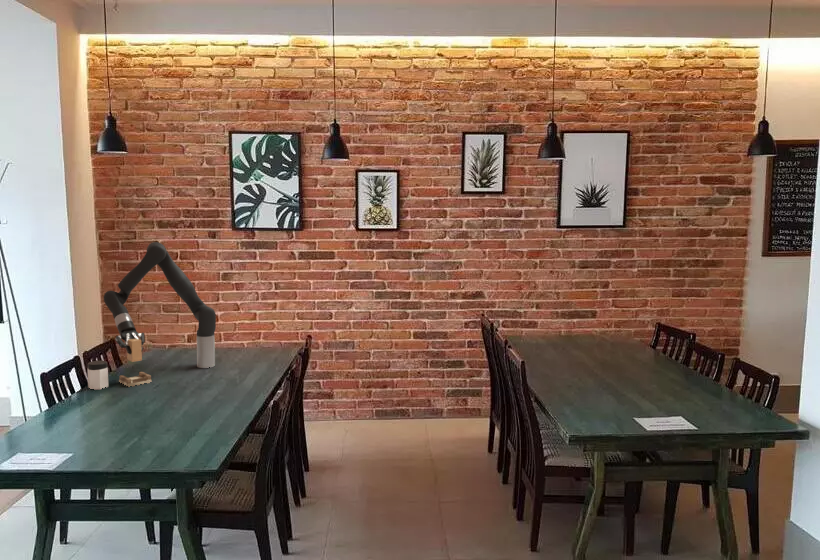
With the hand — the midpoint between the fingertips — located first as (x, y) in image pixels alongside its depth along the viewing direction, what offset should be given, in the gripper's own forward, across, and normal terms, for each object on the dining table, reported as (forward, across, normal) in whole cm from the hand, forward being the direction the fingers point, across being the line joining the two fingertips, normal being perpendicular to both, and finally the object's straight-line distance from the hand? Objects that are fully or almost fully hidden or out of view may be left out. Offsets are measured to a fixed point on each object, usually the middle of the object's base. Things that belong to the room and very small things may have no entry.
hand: (136, 352), depth 283 cm
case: (+2, 0, +4) cm, 5 cm away
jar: (+7, -16, +15) cm, 23 cm away
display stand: (+10, 0, +12) cm, 16 cm away
